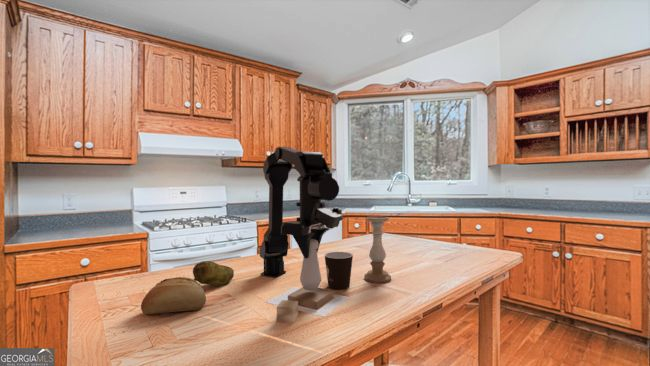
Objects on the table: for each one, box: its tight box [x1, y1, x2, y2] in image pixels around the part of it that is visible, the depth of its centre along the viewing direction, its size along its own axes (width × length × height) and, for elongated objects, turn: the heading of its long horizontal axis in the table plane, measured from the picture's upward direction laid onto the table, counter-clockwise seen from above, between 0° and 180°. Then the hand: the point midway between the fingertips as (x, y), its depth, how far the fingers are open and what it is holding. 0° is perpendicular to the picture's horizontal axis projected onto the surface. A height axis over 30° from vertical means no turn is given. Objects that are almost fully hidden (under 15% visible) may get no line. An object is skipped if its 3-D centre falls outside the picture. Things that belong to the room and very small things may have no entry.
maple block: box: [276, 300, 299, 324], centre depth 73 cm, size 4×4×4 cm
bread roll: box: [140, 276, 207, 315], centre depth 80 cm, size 10×15×8 cm, turn 110°
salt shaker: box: [299, 239, 322, 290], centre depth 84 cm, size 6×6×13 cm
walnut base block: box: [288, 286, 335, 310], centre depth 84 cm, size 9×9×2 cm
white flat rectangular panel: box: [264, 286, 350, 317], centre depth 85 cm, size 18×14×1 cm
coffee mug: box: [324, 251, 353, 291], centre depth 97 cm, size 12×9×10 cm
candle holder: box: [363, 215, 392, 284], centre depth 103 cm, size 9×9×20 cm
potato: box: [192, 260, 235, 287], centre depth 99 cm, size 8×13×8 cm, turn 120°
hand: (310, 256), depth 84 cm, fingers closed on salt shaker, 4 cm apart
